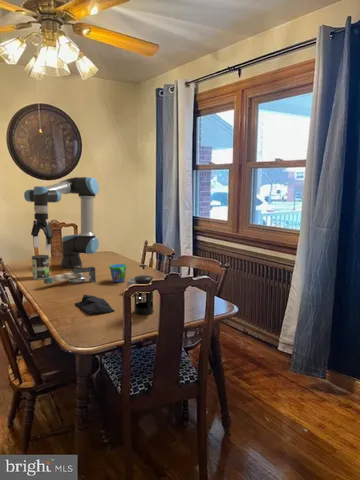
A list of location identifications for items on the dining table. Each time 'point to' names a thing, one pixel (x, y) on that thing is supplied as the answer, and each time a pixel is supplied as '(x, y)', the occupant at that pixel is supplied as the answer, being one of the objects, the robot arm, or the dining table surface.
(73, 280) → the pin plate
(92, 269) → the keeper
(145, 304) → the french press
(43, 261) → the coffee can
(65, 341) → the dining table surface
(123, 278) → the snack cup
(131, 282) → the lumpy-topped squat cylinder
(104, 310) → the black folded cloth
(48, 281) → the link
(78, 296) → the dining table surface
